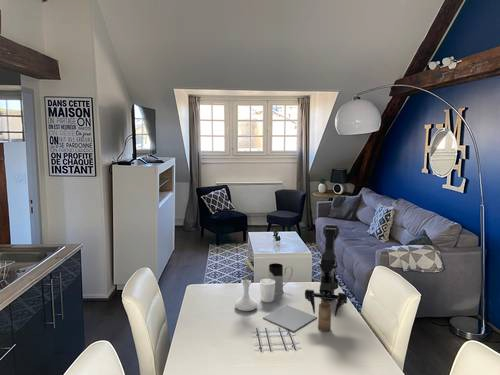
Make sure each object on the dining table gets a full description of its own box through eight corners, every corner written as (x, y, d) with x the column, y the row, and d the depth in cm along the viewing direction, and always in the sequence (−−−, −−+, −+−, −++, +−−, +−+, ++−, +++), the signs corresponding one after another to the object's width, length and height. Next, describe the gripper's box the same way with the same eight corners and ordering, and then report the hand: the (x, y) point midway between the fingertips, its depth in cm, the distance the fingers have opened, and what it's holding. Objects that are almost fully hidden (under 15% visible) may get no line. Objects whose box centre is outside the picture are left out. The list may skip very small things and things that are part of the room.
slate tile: (286, 306, 193) (286, 305, 193) (316, 318, 181) (316, 316, 181) (263, 318, 181) (263, 317, 180) (293, 332, 168) (293, 331, 168)
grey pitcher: (265, 289, 214) (265, 263, 211) (288, 286, 218) (289, 261, 216) (270, 295, 205) (271, 269, 203) (295, 292, 210) (295, 266, 207)
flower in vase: (257, 313, 186) (257, 263, 182) (234, 313, 186) (233, 263, 182) (257, 301, 199) (257, 255, 195) (235, 301, 199) (235, 254, 195)
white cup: (275, 296, 204) (275, 278, 203) (274, 303, 197) (274, 284, 195) (260, 296, 205) (260, 278, 204) (259, 302, 197) (259, 284, 196)
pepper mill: (322, 324, 175) (323, 297, 173) (332, 328, 172) (333, 301, 170) (315, 328, 171) (316, 301, 169) (326, 333, 168) (327, 305, 166)
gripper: (305, 272, 174) (302, 305, 165) (348, 276, 170) (346, 311, 161) (307, 282, 183) (303, 314, 174) (347, 286, 179) (346, 319, 169)
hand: (324, 314), depth 169 cm, fingers open, 9 cm apart
